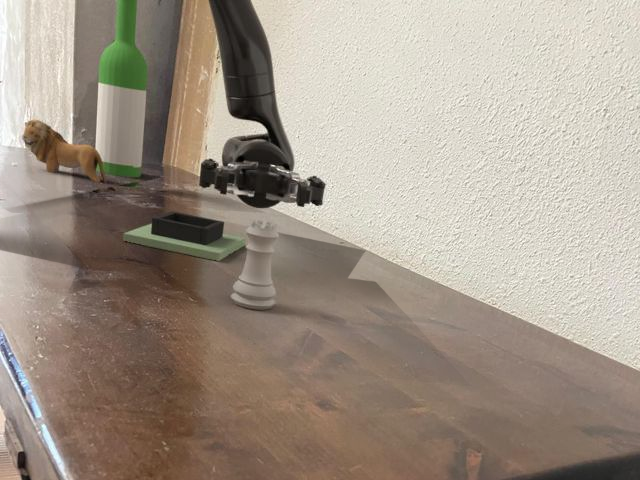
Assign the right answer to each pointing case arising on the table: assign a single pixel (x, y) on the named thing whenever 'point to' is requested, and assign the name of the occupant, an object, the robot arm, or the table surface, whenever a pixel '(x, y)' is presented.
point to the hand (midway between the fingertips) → (263, 190)
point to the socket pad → (186, 236)
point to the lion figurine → (61, 151)
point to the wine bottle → (122, 99)
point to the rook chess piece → (257, 269)
